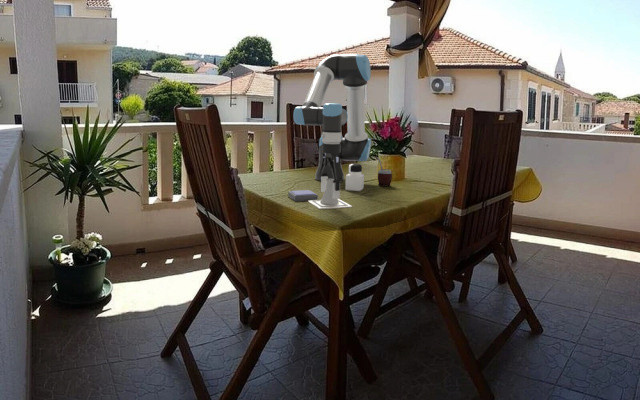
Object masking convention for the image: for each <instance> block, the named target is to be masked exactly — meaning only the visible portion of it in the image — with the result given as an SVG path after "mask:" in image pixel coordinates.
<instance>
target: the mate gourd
mask: <svg viewBox="0 0 640 400" xmlns="http://www.w3.org/2000/svg"><path fill="white" fill-rule="evenodd" d="M376 159H378V162H379V165H380V169H379V170H378V173H377V181H378V182H377V183H378V186H379V187H380V186H381V188H382V187H383V188H384V187H388V188H389V187H391V183H392V178H393V173H392V171H391V169H387V168H384V169H383V166H382V162H381V159H380V158H379V157H377V156H376Z"/></svg>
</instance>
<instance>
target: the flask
mask: <svg viewBox="0 0 640 400" xmlns="http://www.w3.org/2000/svg"><path fill="white" fill-rule="evenodd" d="M333 180H334V179H326V181H327V185H326V189H325V192H323V194H322V197H321V199H320V200H321V202H320V203H322V204H328V205H333V204H338V203H339V202H338V199H333Z"/></svg>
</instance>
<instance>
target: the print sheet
mask: <svg viewBox="0 0 640 400" xmlns="http://www.w3.org/2000/svg"><path fill="white" fill-rule="evenodd" d="M321 200H322V199H318V200H307V202H308V203H310V205H313V206H314V207H315V208H316V209H318V210H326V209H327V210H328V209H329V210H330V209H342V208H345V209H346V208H347V209H348V208H353V206H352V205H350V203H347V202H346V201H343V200H341V198H340V199H338V202H339V203H338V204H333V205H328V204H322V203H320V202H321Z"/></svg>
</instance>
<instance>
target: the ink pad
mask: <svg viewBox="0 0 640 400" xmlns="http://www.w3.org/2000/svg"><path fill="white" fill-rule="evenodd" d="M287 192H288V194H287V195H288V197H289V198H290V199H291V200H293V201H294V202H304V201H305V202H306V201H307V202H308V201H310V200H319V195H318V194H317V193H316V192H314V191H312V190H310V189H304V190H302V189H301V190H289V191H287Z"/></svg>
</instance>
